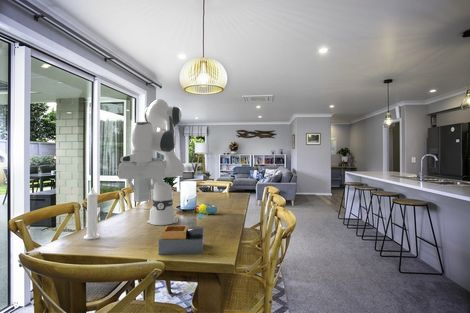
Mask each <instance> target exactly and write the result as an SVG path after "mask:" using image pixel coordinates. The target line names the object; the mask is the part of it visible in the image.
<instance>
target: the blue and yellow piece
mask: <svg viewBox="0 0 470 313" xmlns="http://www.w3.org/2000/svg"><path fill="white" fill-rule="evenodd" d="M197 211H199V214H198V215H197V216H196V217H195V218H197V217H198V218H197V219H201V220H203V218H202V217H204V216H206V215H207V214H209V215H212V214H217V212H218V206H217V205H214V204H210V203H209V202H203V203H201V204H200V205H198V204H197V205H195V212H197ZM206 217H207V216H206ZM204 218H205V217H204Z"/></svg>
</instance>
